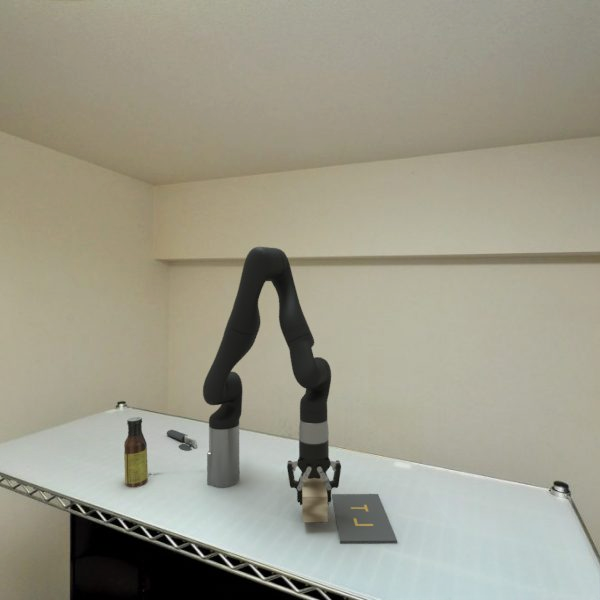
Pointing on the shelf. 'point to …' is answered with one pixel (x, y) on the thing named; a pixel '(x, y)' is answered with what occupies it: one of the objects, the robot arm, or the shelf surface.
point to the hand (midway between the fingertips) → (314, 502)
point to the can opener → (183, 437)
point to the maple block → (314, 501)
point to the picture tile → (362, 519)
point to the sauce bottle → (135, 454)
